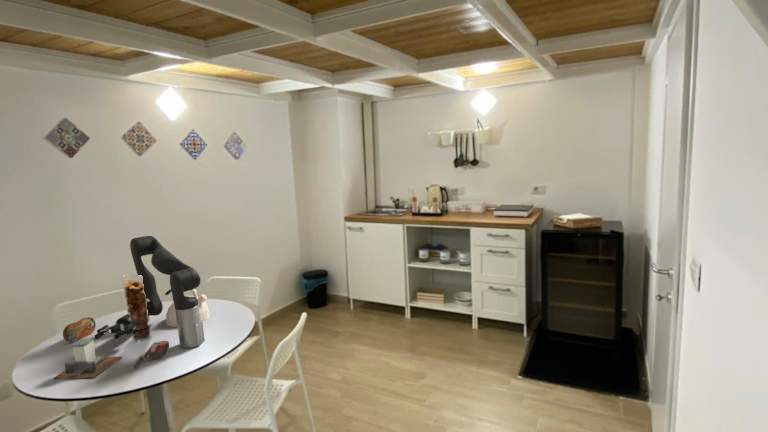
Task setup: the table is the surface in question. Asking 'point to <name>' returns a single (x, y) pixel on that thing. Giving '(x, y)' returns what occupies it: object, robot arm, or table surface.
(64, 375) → the mounting board
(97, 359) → the rail
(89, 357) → the block
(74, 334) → the tin
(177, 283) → the robot arm
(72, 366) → the block
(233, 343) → the table surface
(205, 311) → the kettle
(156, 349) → the walkie-talkie
